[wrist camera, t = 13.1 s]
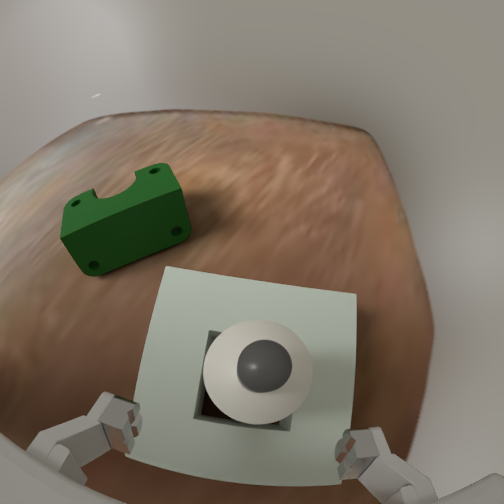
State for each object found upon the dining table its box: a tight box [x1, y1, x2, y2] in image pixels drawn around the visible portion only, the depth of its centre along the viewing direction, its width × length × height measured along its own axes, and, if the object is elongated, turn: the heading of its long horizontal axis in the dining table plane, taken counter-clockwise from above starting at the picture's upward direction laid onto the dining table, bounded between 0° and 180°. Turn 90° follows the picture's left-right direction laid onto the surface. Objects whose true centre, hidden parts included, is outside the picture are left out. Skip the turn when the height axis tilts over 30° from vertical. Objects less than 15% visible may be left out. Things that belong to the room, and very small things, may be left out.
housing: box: [125, 266, 357, 486], centre depth 18 cm, size 14×14×4 cm
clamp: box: [60, 163, 191, 276], centre depth 24 cm, size 12×6×9 cm, turn 111°
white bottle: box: [203, 320, 313, 424], centre depth 14 cm, size 4×4×14 cm
